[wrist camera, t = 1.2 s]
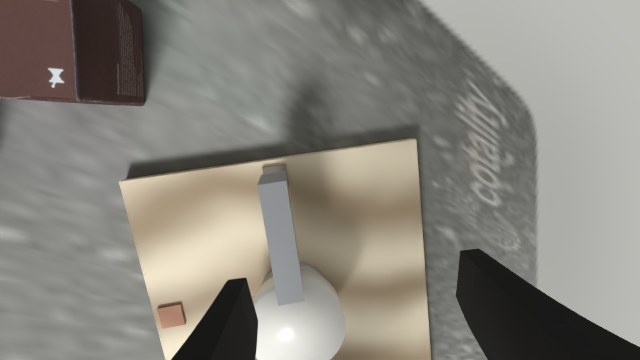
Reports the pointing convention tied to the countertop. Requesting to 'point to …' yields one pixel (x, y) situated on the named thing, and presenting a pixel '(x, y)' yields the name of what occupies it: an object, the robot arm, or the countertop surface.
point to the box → (72, 51)
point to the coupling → (292, 290)
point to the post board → (311, 236)
